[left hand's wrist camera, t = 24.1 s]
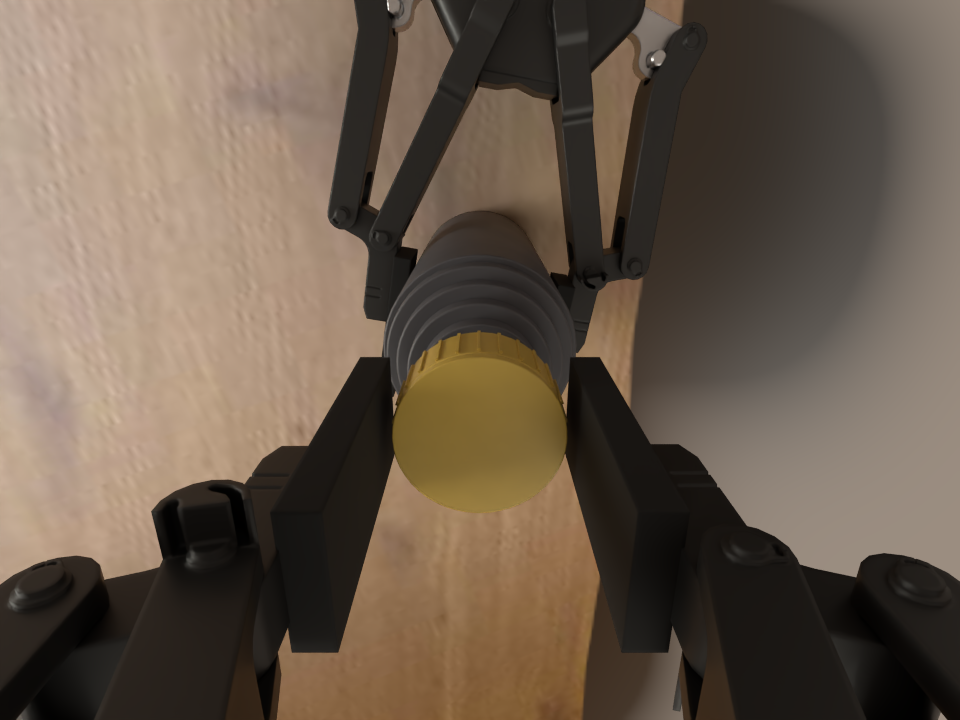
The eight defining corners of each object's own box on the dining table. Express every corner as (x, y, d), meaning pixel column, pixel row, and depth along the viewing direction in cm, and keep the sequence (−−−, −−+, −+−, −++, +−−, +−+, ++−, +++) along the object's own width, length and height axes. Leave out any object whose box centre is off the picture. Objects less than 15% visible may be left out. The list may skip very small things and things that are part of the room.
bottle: (554, 294, 32) (650, 477, 14) (455, 340, 33) (424, 567, 15) (507, 190, 30) (548, 246, 12) (403, 242, 31) (295, 368, 13)
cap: (579, 444, 15) (592, 483, 13) (437, 492, 16) (431, 536, 14) (528, 305, 14) (535, 328, 12) (373, 363, 14) (358, 393, 12)
